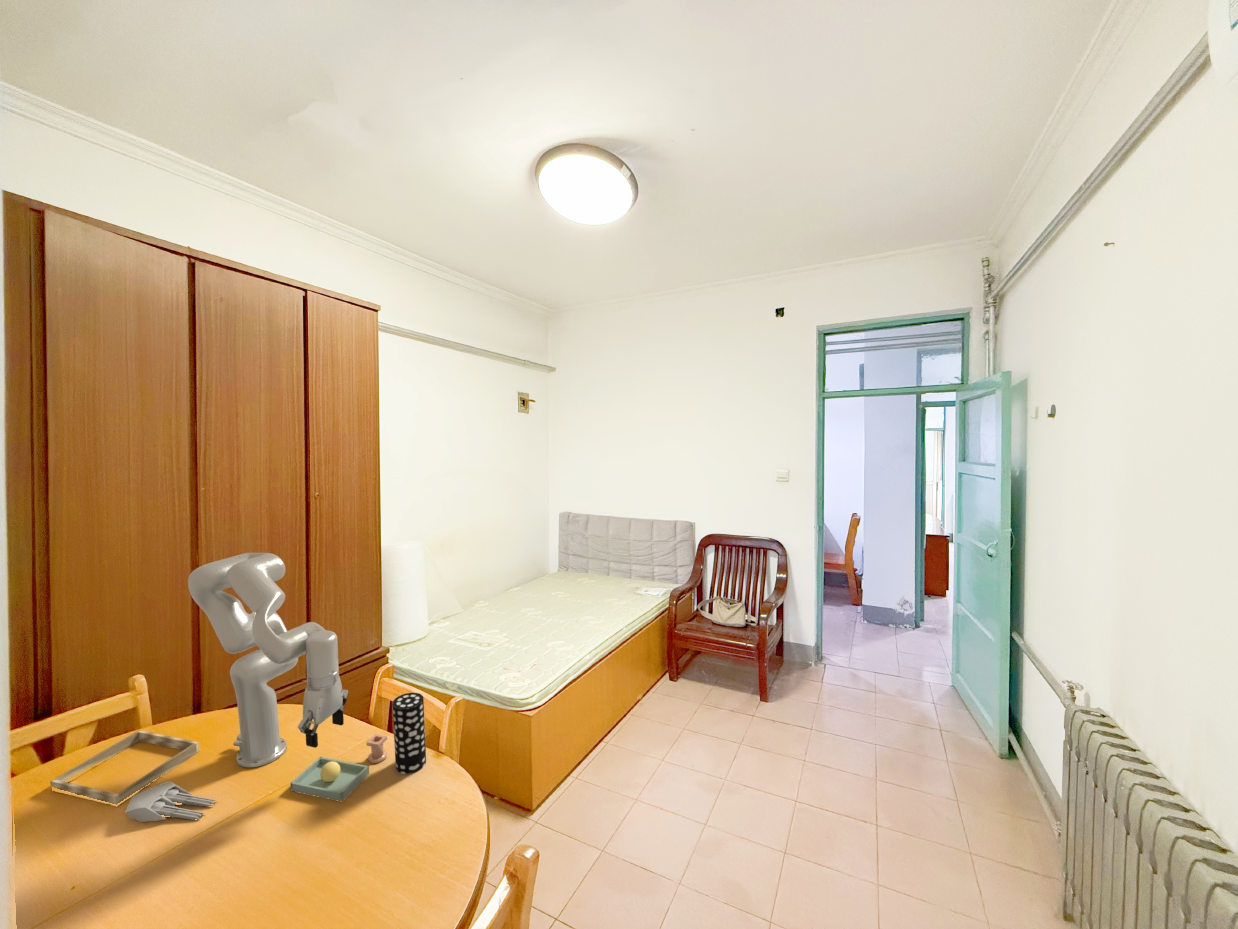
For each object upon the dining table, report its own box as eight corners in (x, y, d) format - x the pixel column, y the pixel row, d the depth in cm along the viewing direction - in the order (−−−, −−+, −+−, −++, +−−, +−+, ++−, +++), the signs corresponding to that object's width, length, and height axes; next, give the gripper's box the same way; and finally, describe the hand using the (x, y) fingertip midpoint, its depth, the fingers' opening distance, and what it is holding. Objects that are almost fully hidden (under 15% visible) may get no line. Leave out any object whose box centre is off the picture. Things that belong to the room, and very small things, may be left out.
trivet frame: (51, 791, 151) (50, 781, 150) (140, 739, 173) (138, 730, 172) (116, 807, 146) (115, 796, 145) (199, 751, 167) (198, 742, 167)
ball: (316, 784, 154) (315, 768, 153) (329, 771, 159) (328, 756, 158) (332, 788, 153) (331, 771, 152) (345, 775, 157) (344, 759, 157)
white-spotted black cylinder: (416, 776, 159) (413, 711, 156) (389, 771, 160) (386, 707, 157) (431, 756, 167) (429, 694, 164) (406, 752, 168) (403, 691, 165)
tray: (291, 791, 152) (290, 783, 152) (321, 764, 163) (320, 756, 162) (342, 802, 149) (341, 794, 148) (369, 773, 159) (368, 766, 159)
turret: (192, 835, 140) (194, 818, 140) (114, 821, 140) (114, 804, 140) (222, 805, 150) (223, 789, 150) (148, 791, 150) (149, 776, 150)
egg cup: (364, 761, 164) (363, 743, 163) (375, 750, 169) (374, 732, 168) (379, 764, 163) (378, 746, 162) (390, 753, 168) (389, 735, 167)
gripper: (334, 659, 160) (336, 713, 163) (285, 692, 143) (288, 752, 146) (357, 663, 158) (358, 718, 161) (310, 697, 142) (313, 758, 145)
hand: (325, 734), depth 154 cm, fingers open, 9 cm apart
